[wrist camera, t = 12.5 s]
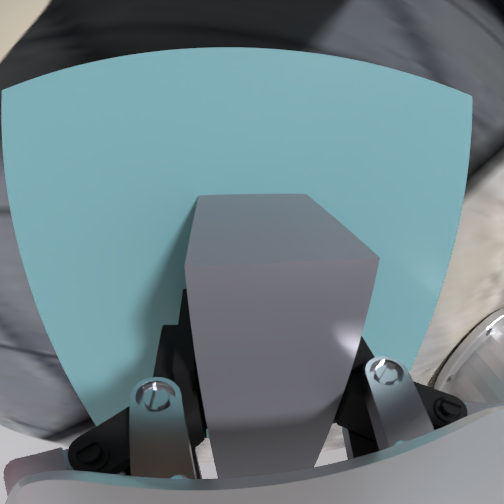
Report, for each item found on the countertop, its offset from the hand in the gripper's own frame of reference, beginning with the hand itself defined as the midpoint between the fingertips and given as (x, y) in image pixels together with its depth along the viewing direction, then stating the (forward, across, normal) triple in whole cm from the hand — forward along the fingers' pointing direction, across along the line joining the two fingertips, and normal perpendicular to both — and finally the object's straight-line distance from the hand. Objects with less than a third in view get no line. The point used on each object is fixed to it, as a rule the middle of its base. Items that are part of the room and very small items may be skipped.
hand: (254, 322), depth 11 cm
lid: (+3, 0, 0) cm, 3 cm away
